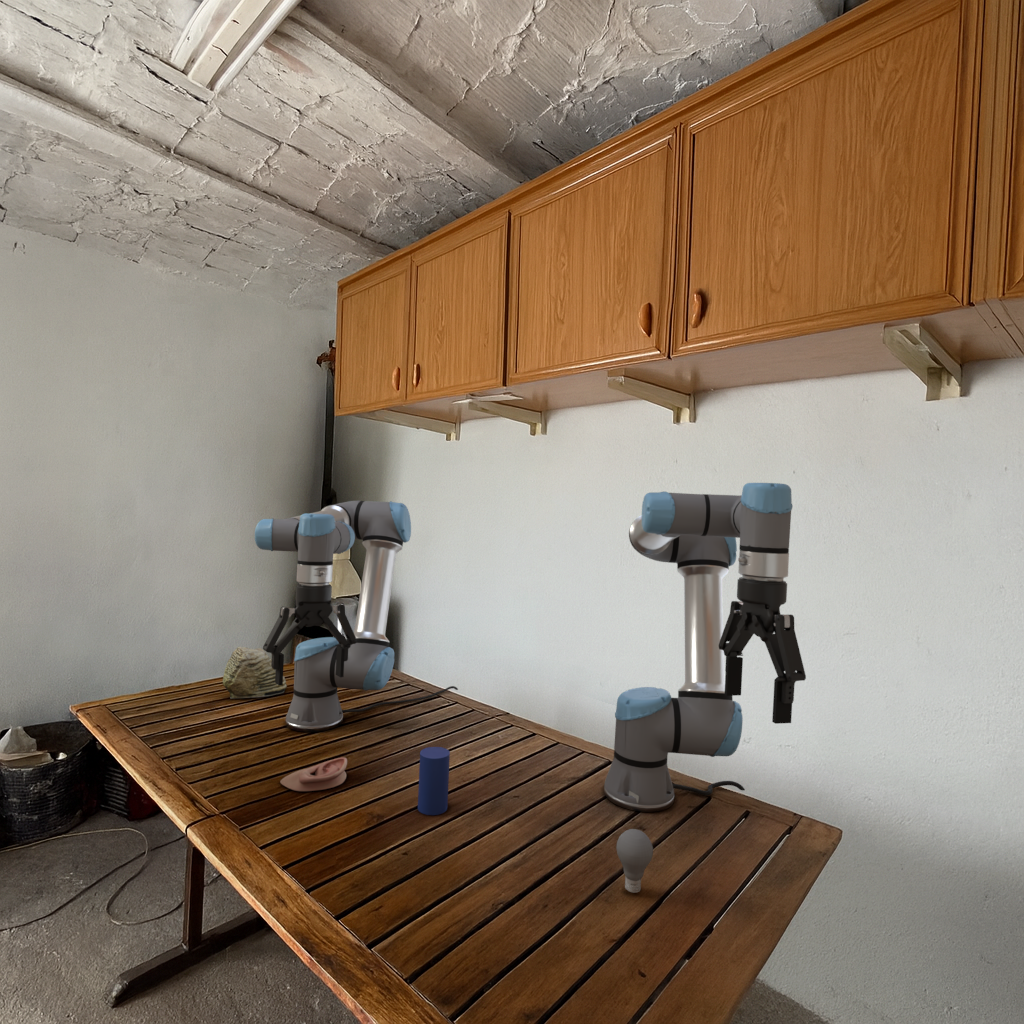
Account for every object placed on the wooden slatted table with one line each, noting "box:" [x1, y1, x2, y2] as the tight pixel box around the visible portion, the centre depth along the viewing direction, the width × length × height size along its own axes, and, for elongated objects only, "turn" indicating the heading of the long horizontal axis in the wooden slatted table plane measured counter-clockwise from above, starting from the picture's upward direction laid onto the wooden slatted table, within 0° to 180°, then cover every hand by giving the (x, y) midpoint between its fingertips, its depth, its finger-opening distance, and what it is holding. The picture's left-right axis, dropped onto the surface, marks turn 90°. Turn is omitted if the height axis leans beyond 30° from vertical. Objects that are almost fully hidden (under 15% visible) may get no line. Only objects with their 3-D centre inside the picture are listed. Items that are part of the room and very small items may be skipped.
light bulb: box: [615, 828, 654, 894], centre depth 106 cm, size 6×6×10 cm
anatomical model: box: [279, 756, 348, 792], centre depth 141 cm, size 13×4×12 cm
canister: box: [417, 746, 451, 816], centre depth 131 cm, size 6×6×12 cm
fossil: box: [222, 646, 288, 699], centre depth 198 cm, size 9×18×15 cm, turn 132°
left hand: (310, 679), depth 139 cm, fingers open, 13 cm apart
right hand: (755, 708), depth 103 cm, fingers open, 13 cm apart
